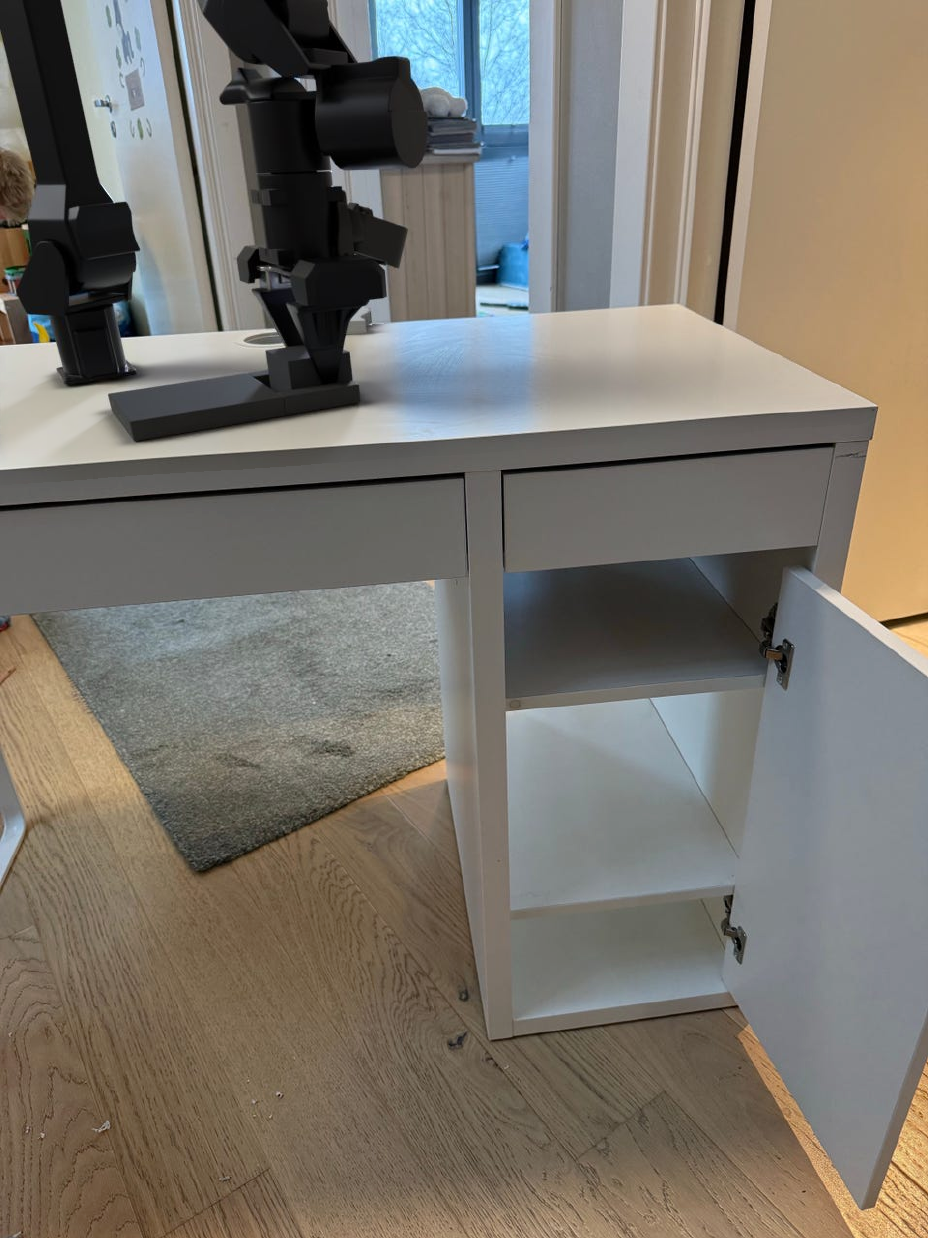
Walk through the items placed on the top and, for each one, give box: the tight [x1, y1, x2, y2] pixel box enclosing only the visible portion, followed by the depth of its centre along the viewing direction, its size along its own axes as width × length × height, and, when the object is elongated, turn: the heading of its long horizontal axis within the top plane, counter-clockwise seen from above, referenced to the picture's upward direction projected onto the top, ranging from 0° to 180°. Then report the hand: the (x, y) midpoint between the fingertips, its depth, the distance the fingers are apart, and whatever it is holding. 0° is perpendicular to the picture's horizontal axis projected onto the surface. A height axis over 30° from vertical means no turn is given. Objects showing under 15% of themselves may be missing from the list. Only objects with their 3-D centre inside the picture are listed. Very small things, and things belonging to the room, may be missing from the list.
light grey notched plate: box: [346, 306, 373, 335], centre depth 100 cm, size 6×1×10 cm
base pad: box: [107, 369, 362, 442], centre depth 70 cm, size 10×18×2 cm, turn 119°
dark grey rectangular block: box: [265, 345, 354, 393], centre depth 72 cm, size 5×5×4 cm
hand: (318, 379), depth 73 cm, fingers closed on dark grey rectangular block, 5 cm apart
